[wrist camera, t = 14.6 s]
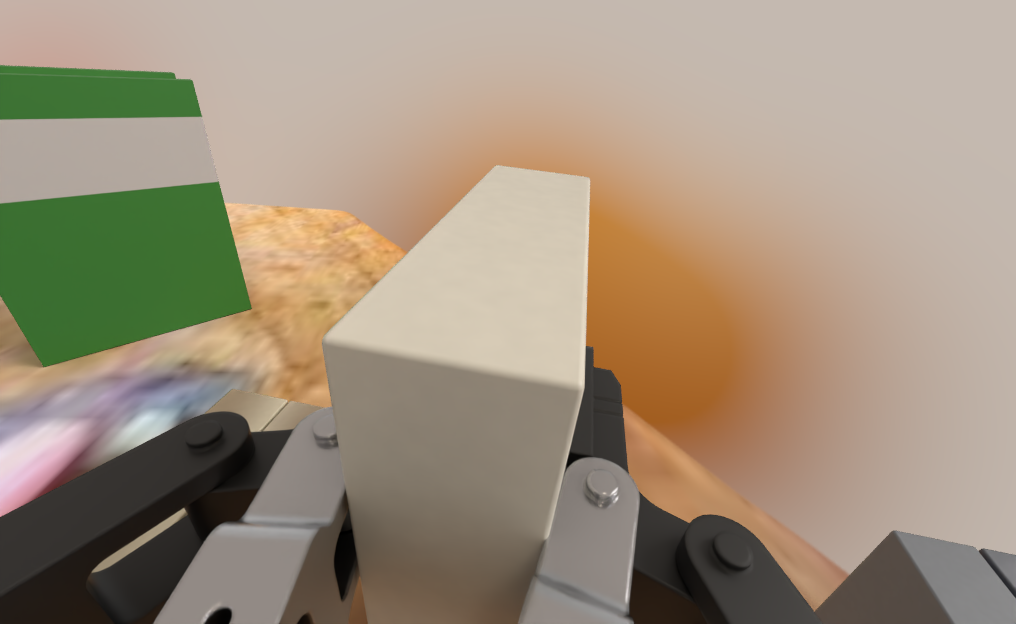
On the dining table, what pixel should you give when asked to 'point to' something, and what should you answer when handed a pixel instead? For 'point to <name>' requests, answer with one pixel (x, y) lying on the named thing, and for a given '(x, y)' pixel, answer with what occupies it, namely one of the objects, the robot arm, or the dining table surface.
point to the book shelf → (260, 417)
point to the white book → (464, 401)
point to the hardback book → (109, 210)
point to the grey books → (925, 585)
